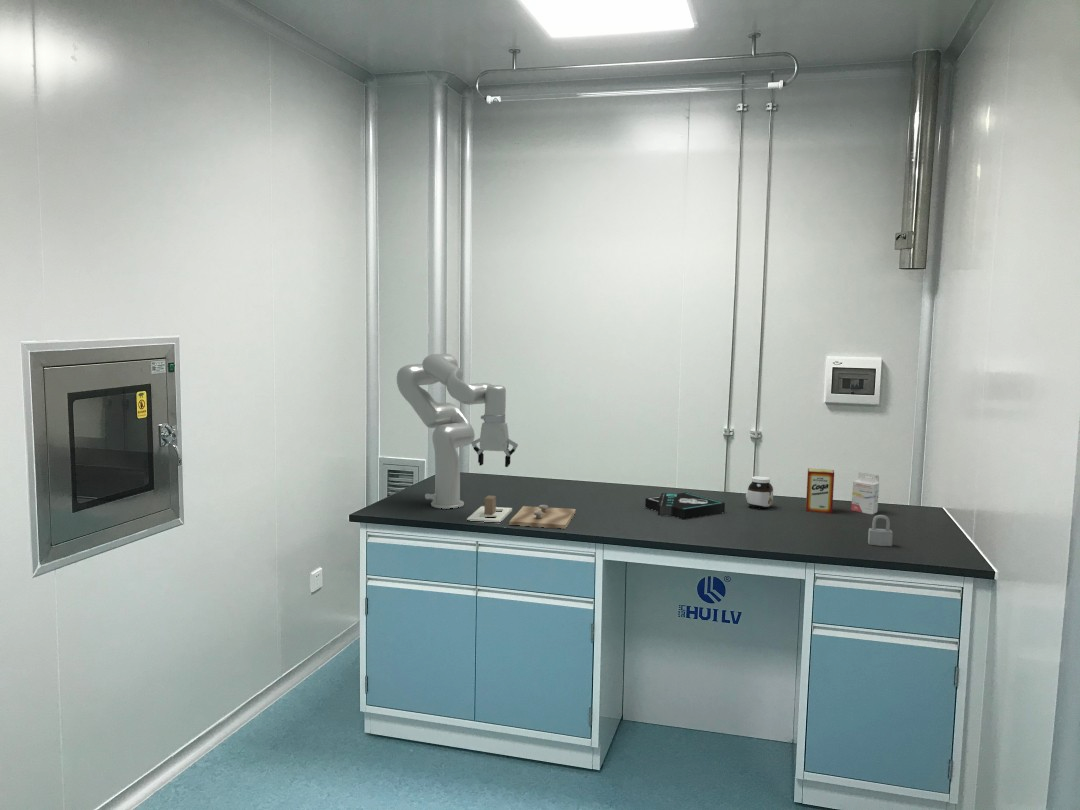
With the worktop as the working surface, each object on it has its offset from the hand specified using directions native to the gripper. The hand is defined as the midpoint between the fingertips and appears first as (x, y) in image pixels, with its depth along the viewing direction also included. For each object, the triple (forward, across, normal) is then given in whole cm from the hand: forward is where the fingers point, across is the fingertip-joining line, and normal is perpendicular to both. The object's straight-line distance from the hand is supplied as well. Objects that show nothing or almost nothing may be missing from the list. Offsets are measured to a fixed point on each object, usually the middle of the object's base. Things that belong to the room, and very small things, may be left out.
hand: (494, 465), depth 303 cm
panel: (+19, -1, -1) cm, 19 cm away
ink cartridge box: (+18, +137, +40) cm, 144 cm away
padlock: (+17, +133, -8) cm, 134 cm away
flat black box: (+19, +69, +26) cm, 76 cm away
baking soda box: (+18, +120, +38) cm, 127 cm away
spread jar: (+18, +97, +40) cm, 106 cm away
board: (+18, +19, -1) cm, 26 cm away
